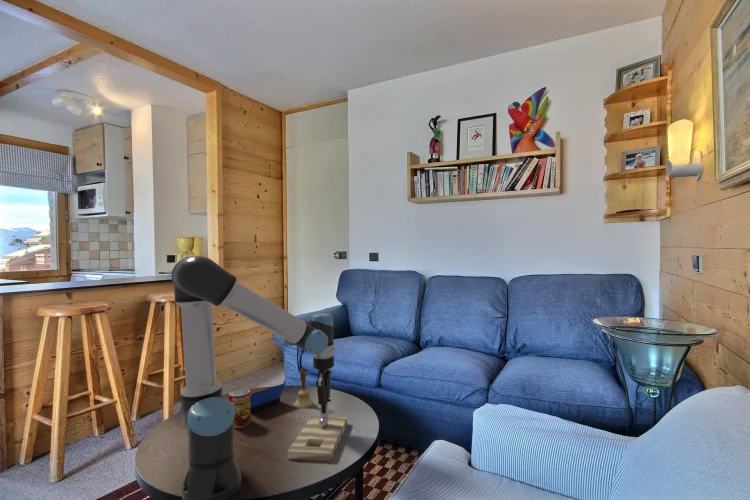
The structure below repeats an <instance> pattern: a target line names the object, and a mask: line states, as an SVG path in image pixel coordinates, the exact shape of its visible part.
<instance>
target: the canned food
mask: <svg viewBox="0 0 750 500" xmlns="http://www.w3.org/2000/svg"><path fill="white" fill-rule="evenodd" d="M250 398H251V390H250V389H248V388H236V389H233V390H231V391H229V392H228V400H229V401H230V402H231V403H232V405H233V410H234V429H239V428H244V427H247V426H249V425H250V424H251V420H252V417H251V413H252V412H250Z"/></svg>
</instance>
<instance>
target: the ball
mask: <svg viewBox="0 0 750 500" xmlns="http://www.w3.org/2000/svg"><path fill="white" fill-rule="evenodd" d="M319 425H320V426H321V427H323V428H324V427H326V426H327V425H328V420H327V419H326V418H321V419H320V421H319Z"/></svg>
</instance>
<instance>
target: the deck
mask: <svg viewBox="0 0 750 500" xmlns="http://www.w3.org/2000/svg"><path fill="white" fill-rule="evenodd" d="M320 419H321V415H320V416H318V415H317V416H316V415H311V416H310V417H309V418H308V421H307V422H306V423H305V425H304V426H303V428H302V430H300V432H299V433H298V435H297V437H296V438H295V440H294V441H293V443H292V444H291V445H290V447H289V448H288V450H287V460H297V461H315V462H317V461H319V462H332V460H333V457H334V455H335V453H336V451H337V448H338V446H339V444H340V442H341V440H342V437H343V435H344V432H345V430H346V428H347V426H348V417H346V416H329V421H328V425H327V426H326V427H324V428H323V427H321V426H320V425H319V421H320Z"/></svg>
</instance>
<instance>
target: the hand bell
mask: <svg viewBox="0 0 750 500" xmlns="http://www.w3.org/2000/svg"><path fill="white" fill-rule="evenodd" d="M306 371H307V370H306V368H305V366H303V367H301V368H300V372H299V376H300V377H299V378H300V381H301V390H299V391H298V393H297V399H296V401H295V402H294V403H293V406H294V407H295V408H297V409H305V408H306V409H307V408H311V407H312V406H313V405H314V401H313V400H312V399H311V396H310V392H309V390H307V389H306V388H307V387H306V379H307V372H306Z"/></svg>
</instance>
